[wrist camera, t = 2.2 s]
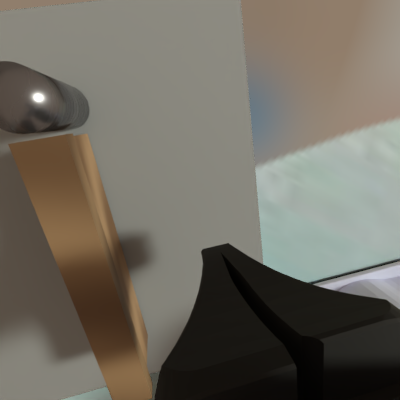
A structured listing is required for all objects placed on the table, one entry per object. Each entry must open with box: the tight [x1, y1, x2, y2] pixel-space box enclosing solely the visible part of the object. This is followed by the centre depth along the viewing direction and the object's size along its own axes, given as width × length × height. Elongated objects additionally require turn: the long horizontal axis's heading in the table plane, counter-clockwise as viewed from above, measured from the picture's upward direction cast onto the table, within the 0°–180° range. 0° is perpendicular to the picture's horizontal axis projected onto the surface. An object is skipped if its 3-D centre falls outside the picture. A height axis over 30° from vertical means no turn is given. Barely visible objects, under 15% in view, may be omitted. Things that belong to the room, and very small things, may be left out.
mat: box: [0, 0, 263, 400], centre depth 14 cm, size 24×22×1 cm
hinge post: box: [0, 61, 90, 134], centre depth 10 cm, size 2×2×5 cm
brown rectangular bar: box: [8, 133, 152, 400], centre depth 12 cm, size 13×2×4 cm, turn 9°
